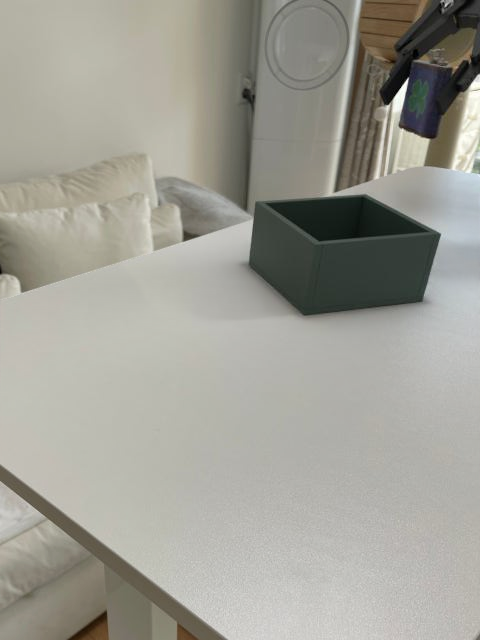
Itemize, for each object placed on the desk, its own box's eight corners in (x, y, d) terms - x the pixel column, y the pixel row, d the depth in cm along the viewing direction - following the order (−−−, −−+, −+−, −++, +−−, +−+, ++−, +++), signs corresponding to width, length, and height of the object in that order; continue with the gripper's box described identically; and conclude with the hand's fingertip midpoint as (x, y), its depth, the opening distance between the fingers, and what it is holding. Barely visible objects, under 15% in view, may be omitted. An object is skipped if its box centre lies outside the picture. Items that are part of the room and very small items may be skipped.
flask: (394, 126, 99) (412, 45, 92) (412, 126, 99) (431, 45, 93) (423, 139, 91) (445, 51, 85) (443, 139, 92) (465, 52, 85)
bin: (353, 254, 83) (365, 193, 79) (422, 301, 72) (441, 233, 67) (248, 264, 79) (255, 201, 75) (303, 315, 68) (315, 244, 64)
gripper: (435, -57, 94) (342, 73, 95) (585, -60, 80) (474, 93, 81) (446, -13, 100) (358, 110, 101) (587, -8, 86) (484, 135, 87)
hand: (410, 102), depth 91 cm, fingers closed on flask, 8 cm apart
